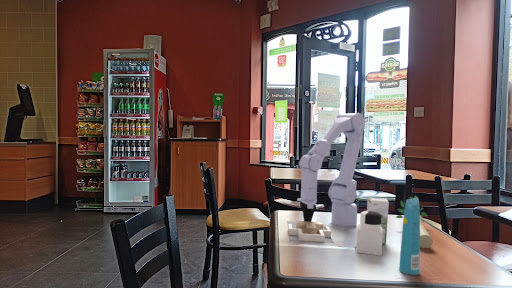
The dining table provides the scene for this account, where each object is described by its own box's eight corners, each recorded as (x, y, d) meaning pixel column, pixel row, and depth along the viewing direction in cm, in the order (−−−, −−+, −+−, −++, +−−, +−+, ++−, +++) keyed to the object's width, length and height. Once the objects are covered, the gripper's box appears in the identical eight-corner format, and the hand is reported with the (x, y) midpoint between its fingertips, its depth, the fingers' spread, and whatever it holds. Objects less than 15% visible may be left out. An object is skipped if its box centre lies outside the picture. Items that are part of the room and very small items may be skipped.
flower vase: (410, 268, 118) (395, 221, 151) (451, 262, 115) (426, 216, 148) (402, 236, 116) (388, 195, 149) (443, 229, 113) (420, 189, 146)
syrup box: (382, 239, 124) (384, 197, 123) (386, 244, 118) (388, 200, 118) (365, 238, 124) (367, 196, 124) (368, 243, 118) (370, 199, 118)
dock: (327, 231, 128) (328, 226, 128) (334, 242, 115) (334, 236, 115) (288, 229, 129) (288, 223, 128) (289, 239, 116) (290, 233, 116)
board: (323, 225, 140) (323, 223, 140) (334, 245, 114) (334, 242, 114) (286, 223, 141) (287, 221, 141) (289, 242, 115) (290, 240, 115)
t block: (321, 232, 127) (322, 222, 127) (325, 239, 118) (325, 228, 118) (296, 230, 127) (296, 220, 127) (297, 237, 118) (298, 227, 118)
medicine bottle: (381, 249, 113) (383, 211, 112) (381, 256, 106) (383, 215, 106) (357, 246, 115) (359, 208, 115) (356, 252, 108) (358, 212, 108)
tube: (404, 265, 98) (408, 195, 98) (423, 270, 95) (427, 198, 95) (394, 273, 93) (398, 198, 92) (414, 278, 90) (418, 201, 89)
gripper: (296, 184, 139) (295, 219, 140) (299, 190, 125) (297, 228, 125) (315, 185, 139) (313, 220, 139) (320, 190, 125) (318, 230, 125)
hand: (307, 224), depth 132 cm, fingers closed
